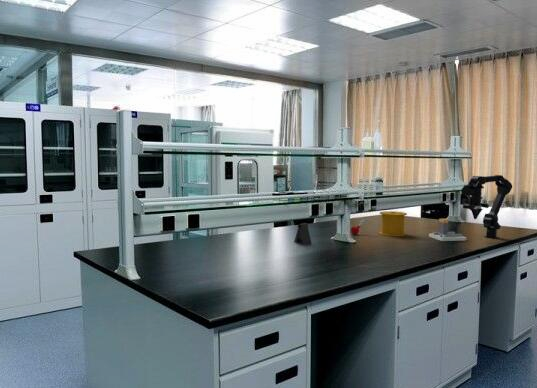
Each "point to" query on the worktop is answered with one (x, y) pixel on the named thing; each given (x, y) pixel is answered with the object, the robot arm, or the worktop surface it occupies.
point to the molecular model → (356, 229)
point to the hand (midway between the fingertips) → (475, 219)
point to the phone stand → (303, 234)
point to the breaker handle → (443, 226)
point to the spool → (392, 223)
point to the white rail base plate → (448, 236)
